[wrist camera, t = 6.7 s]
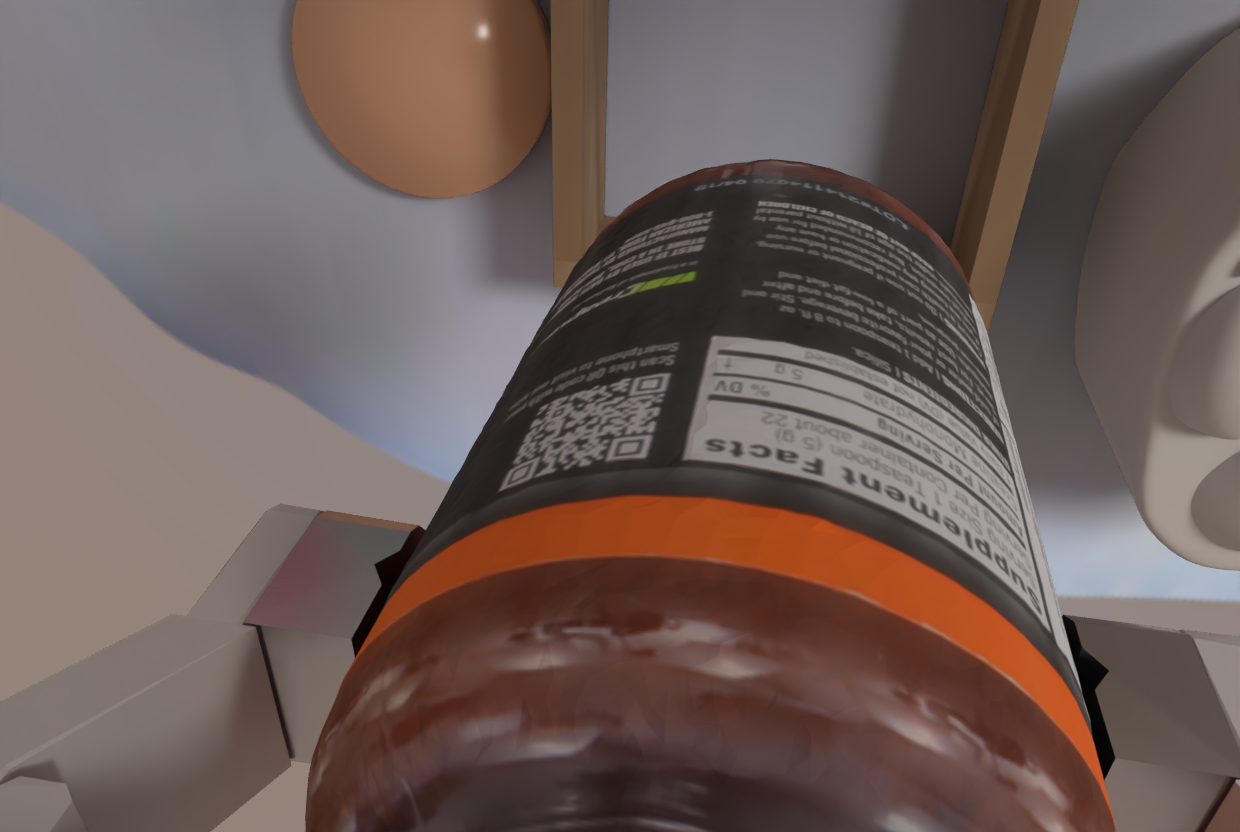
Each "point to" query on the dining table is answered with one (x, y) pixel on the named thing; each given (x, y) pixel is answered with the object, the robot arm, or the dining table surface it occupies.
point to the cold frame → (993, 177)
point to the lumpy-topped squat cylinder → (1173, 312)
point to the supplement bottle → (730, 555)
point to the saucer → (426, 87)
